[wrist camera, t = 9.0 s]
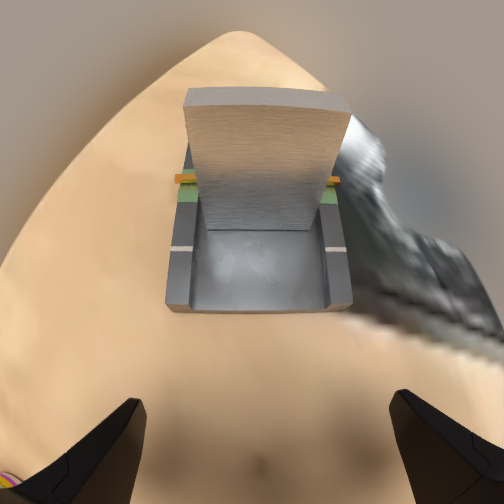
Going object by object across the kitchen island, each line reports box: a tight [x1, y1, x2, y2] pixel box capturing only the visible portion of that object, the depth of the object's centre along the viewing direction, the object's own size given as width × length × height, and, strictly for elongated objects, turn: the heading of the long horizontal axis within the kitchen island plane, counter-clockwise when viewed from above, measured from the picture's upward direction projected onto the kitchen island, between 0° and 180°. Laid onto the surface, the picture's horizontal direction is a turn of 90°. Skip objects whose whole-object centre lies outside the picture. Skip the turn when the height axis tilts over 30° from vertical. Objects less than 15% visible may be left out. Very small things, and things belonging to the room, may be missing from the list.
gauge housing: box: [165, 122, 353, 314], centre depth 19 cm, size 14×11×4 cm
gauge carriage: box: [175, 87, 352, 230], centre depth 16 cm, size 4×12×10 cm, turn 90°
